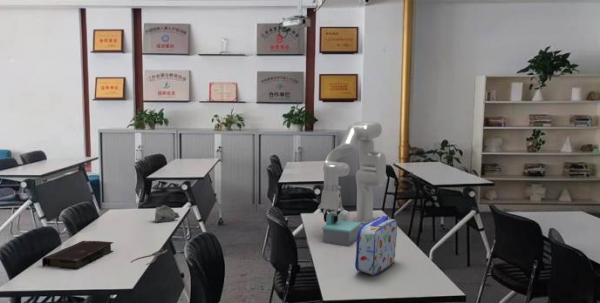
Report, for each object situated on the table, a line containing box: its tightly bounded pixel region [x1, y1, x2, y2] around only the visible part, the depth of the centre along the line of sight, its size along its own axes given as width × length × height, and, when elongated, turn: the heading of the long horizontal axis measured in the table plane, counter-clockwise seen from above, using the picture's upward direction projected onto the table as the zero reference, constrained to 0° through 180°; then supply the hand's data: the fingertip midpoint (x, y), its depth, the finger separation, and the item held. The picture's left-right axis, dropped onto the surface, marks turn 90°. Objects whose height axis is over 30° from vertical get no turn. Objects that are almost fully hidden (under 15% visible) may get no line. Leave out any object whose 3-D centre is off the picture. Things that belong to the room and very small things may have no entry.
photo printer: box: [338, 209, 351, 221], centre depth 251 cm, size 10×4×12 cm, turn 39°
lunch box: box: [354, 215, 398, 276], centre depth 196 cm, size 28×10×22 cm, turn 148°
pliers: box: [130, 248, 169, 266], centre depth 209 cm, size 10×1×20 cm
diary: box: [41, 240, 114, 271], centre depth 207 cm, size 19×25×5 cm
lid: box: [321, 212, 362, 233], centre depth 235 cm, size 17×15×8 cm
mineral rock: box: [154, 204, 181, 224], centre depth 270 cm, size 13×11×10 cm
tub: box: [322, 225, 361, 247], centre depth 235 cm, size 16×14×7 cm
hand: (330, 221), depth 238 cm, fingers open, 4 cm apart
